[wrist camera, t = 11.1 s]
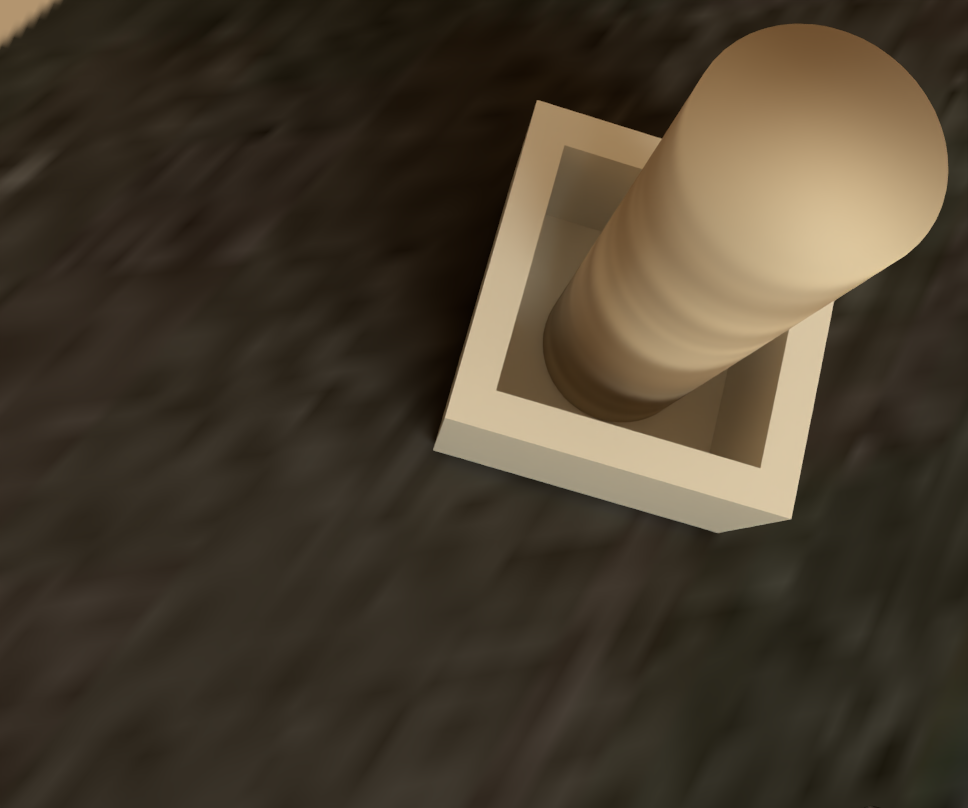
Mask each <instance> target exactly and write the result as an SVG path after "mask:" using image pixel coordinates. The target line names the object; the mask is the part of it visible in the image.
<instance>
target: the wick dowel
mask: <svg viewBox="0 0 968 808" xmlns="http://www.w3.org/2000/svg"><path fill="white" fill-rule="evenodd" d="M947 179H948V156H947V149H946V143H945V139H944V135H943V132H942V128H941V125H940V122H939V120H938V118H937V115H936V113H935V111H934V109H933V107H932V105H931V103H930V102H929V100H928V98H927V96H926V95H925V93H924V92H923V90H922V89H921V88H920V86H919V85H918V84H917V82H916V81H915V80H914V79H913V78H912V76H911V75H910V74H909V73H908V72H907V71H906V70H905V69H904V68H903V67H902V66H901V65H900V64H899V63H898V62H896V61H895V60H894V59H893V58H892V57H891V56H889V55H888V54H886V53H885V52H884V51H882V50H881V49H879V48H878V47H876V46H875V45H873V44H871V43H869V42H867V41H866V40H864V39H862V38H860V37H857V36H855V35H852V34H850V33H848V32H845V31H841V30H838V29H834V28H831V27H826V26H820V25H814V24H788V25H779V26H774V27H769V28H765V29H762V30H759V31H757V32H754V33H751V34H749V35H747V36H745V37H743V38H742V39H740V40H738V41H736V42H735V43H733V44H732V45H731V46H729V47H728V48H727V49H725V50H724V51H723V52H722V53H721V54H720V55H719V56H718V57H717V58H716V59H715V60H714V61H713V62H712V63H711V65H710V66H709V68H708V69H707V70H706V72H705V73H704V74H703V76H702V78H701V79H700V81H699V82H698V84H697V85H696V87H695V88H694V90H693V91H692V93H691V95H690V96H689V98H688V99H687V101H686V102H685V104H684V105H683V107H682V108H681V110H680V112H679V113H678V115H677V116H676V118H675V119H674V121H673V122H672V124H671V125H670V127H669V129H668V130H667V132H666V133H665V135H664V136H663V138H662V139H661V141H660V143H659V144H658V146H657V147H656V149H655V150H654V152H653V153H652V155H651V156H650V158H649V160H648V161H647V163H646V164H645V166H644V167H643V169H642V170H641V172H640V173H639V175H638V177H637V178H636V180H635V181H634V183H633V184H632V186H631V187H630V189H629V190H628V192H627V194H626V195H625V197H624V198H623V200H622V201H621V203H620V204H619V206H618V208H617V209H616V211H615V212H614V214H613V215H612V217H611V218H610V220H609V221H608V223H607V225H606V226H605V228H604V229H603V231H602V232H601V234H600V235H599V237H598V238H597V240H596V242H595V243H594V245H593V246H592V248H591V249H590V251H589V252H588V254H587V255H586V257H585V259H584V260H583V262H582V263H581V265H580V266H579V268H578V269H577V271H576V272H575V274H574V276H573V277H572V279H571V280H570V282H569V283H568V285H567V286H566V288H565V290H564V291H563V293H562V294H561V296H560V297H559V299H558V300H557V302H556V303H555V305H554V307H553V308H552V310H551V312H550V314H549V316H548V319H547V321H546V324H545V329H544V333H543V354H544V360H545V364H546V367H547V370H548V373H549V375H550V377H551V379H552V381H553V383H554V384H555V386H556V387H557V389H558V390H559V392H560V393H561V394H562V395H563V396H564V398H566V399H567V400H568V401H569V402H570V403H571V404H572V405H573V406H575V407H576V408H578V409H579V410H580V411H582V412H584V413H586V414H588V415H590V416H592V417H595V418H597V419H601V420H605V421H610V422H633V421H639V420H642V419H646V418H648V417H651V416H653V415H655V414H657V413H658V412H660V411H662V410H663V409H665V408H666V407H668V406H669V405H671V404H673V403H674V402H676V401H677V400H679V399H680V398H682V397H684V396H685V395H687V394H688V393H690V392H691V391H693V390H695V389H696V388H698V387H699V386H701V385H702V384H704V383H706V382H707V381H709V380H710V379H712V378H713V377H715V376H717V375H718V374H720V373H721V372H723V371H724V370H726V369H728V368H729V367H731V366H732V365H734V364H735V363H737V362H739V361H740V360H742V359H743V358H745V357H746V356H748V355H750V354H751V353H753V352H754V351H756V350H757V349H759V348H761V347H762V346H764V345H765V344H767V343H768V342H770V341H772V340H773V339H775V338H776V337H778V336H779V335H781V334H783V333H784V332H786V331H787V330H789V329H790V328H792V327H794V326H795V325H797V324H798V323H800V322H801V321H803V320H805V319H806V318H808V317H809V316H811V315H812V314H814V313H816V312H817V311H819V310H820V309H822V308H823V307H825V306H827V305H828V304H830V303H831V302H833V301H834V300H836V299H838V298H839V297H841V296H842V295H844V294H845V293H847V292H849V291H850V290H852V289H853V288H855V287H856V286H858V285H860V284H861V283H863V282H864V281H866V280H867V279H869V278H871V277H872V276H874V275H875V274H877V273H878V272H880V271H882V270H883V269H885V268H886V267H888V266H889V265H891V264H893V263H894V262H896V261H897V260H899V259H900V258H902V257H904V256H905V255H906V254H908V253H909V252H910V251H911V250H912V249H913V248H915V247H916V246H917V245H918V244H919V243H920V242H921V240H922V239H923V238H924V237H925V236H926V234H927V233H928V232H929V230H930V229H931V227H932V225H933V224H934V222H935V221H936V219H937V216H938V214H939V212H940V209H941V207H942V204H943V200H944V197H945V193H946V188H947Z"/></svg>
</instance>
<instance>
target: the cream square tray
mask: <svg viewBox="0 0 968 808" xmlns="http://www.w3.org/2000/svg"><path fill="white" fill-rule="evenodd" d="M660 141H661V138H658V137H654V136H651V135H648V134H645V133H642V132H638V131H635V130H632V129H629V128H626V127H622V126H619V125H616V124H613V123H610V122H606V121H603V120H600V119H597V118H594V117H590V116H587V115H584V114H581V113H577V112H574V111H571V110H568V109H565V108H561V107H558V106H555V105H552V104H549V103H545V102H542V101H539V100H537V102H536V105H535V108H534V112H533V115H532V118H531V121H530V124H529V127H528V130H527V134H526V137H525V140H524V143H523V146H522V149H521V152H520V156H519V159H518V162H517V165H516V168H515V171H514V175H513V178H512V181H511V184H510V187H509V191H508V194H507V198H506V201H505V205H504V208H503V211H502V215H501V218H500V222H499V225H498V229H497V232H496V236H495V239H494V242H493V246H492V249H491V253H490V256H489V260H488V263H487V266H486V270H485V273H484V277H483V280H482V284H481V287H480V290H479V294H478V297H477V301H476V304H475V308H474V311H473V315H472V318H471V321H470V325H469V328H468V332H467V335H466V339H465V342H464V345H463V349H462V352H461V356H460V359H459V363H458V366H457V369H456V373H455V376H454V380H453V383H452V387H451V390H450V394H449V397H448V400H447V404H446V407H445V411H444V414H443V418H442V421H441V424H440V428H439V431H438V435H437V438H436V442H435V445H434V448H433V450H434V451H438V452H441V453H445V454H448V455H451V456H455V457H458V458H462V459H465V460H469V461H472V462H476V463H479V464H482V465H486V466H489V467H493V468H496V469H500V470H503V471H507V472H510V473H513V474H517V475H520V476H524V477H527V478H531V479H534V480H538V481H541V482H544V483H548V484H551V485H555V486H558V487H562V488H565V489H569V490H572V491H575V492H579V493H582V494H586V495H589V496H593V497H596V498H600V499H603V500H606V501H610V502H613V503H617V504H620V505H624V506H627V507H631V508H634V509H637V510H641V511H644V512H648V513H651V514H655V515H658V516H662V517H665V518H668V519H672V520H675V521H679V522H682V523H686V524H689V525H692V526H696V527H699V528H703V529H706V530H710V531H713V532H717V533H720V532H725V531H731V530H736V529H741V528H747V527H752V526H757V525H762V524H768V523H773V522H778V521H784V520H789V519H791V518H792V513H793V507H794V502H795V497H796V492H797V487H798V482H799V477H800V472H801V467H802V462H803V456H804V451H805V446H806V441H807V436H808V431H809V426H810V421H811V416H812V411H813V406H814V400H815V395H816V390H817V385H818V380H819V375H820V370H821V365H822V360H823V355H824V349H825V344H826V339H827V334H828V329H829V324H830V319H831V314H832V309H833V304H834V301H833V302H831V303H830V304H828V305H827V306H825V307H823V308H822V309H820V310H819V311H817V312H816V313H814V314H812V315H811V316H809V317H808V318H806V319H805V320H803V321H801V322H800V323H798V324H797V325H795V326H794V327H792V328H790V329H789V330H787V331H786V332H784V333H783V334H781V335H779V336H778V337H776V338H775V339H773V340H772V341H770V342H768V343H767V344H765V345H764V346H762V347H761V348H759V349H757V350H756V351H754V352H753V353H751V354H750V355H748V356H746V357H745V358H743V359H742V360H740V361H739V362H737V363H735V364H734V365H732V366H731V367H729V368H728V369H726V370H724V371H723V372H721V373H720V374H718V375H717V376H715V377H713V378H712V379H710V380H709V381H707V382H706V383H704V384H702V385H701V386H699V387H698V388H696V389H695V390H693V391H691V392H690V393H688V394H687V395H685V396H684V397H682V398H680V399H679V400H677V401H676V402H674V403H673V404H671V405H669V406H668V407H666V408H665V409H663V410H662V411H660V412H658V413H657V414H655V415H653V416H651V417H648V418H646V419H642V420H639V421H633V422H610V421H605V420H601V419H597V418H595V417H592V416H590V415H588V414H586V413H584V412H582V411H580V410H579V409H578V408H576V407H575V406H573V405H572V404H571V403H570V402H569V401H568V400H567V399H566V398H564V396H563V395H562V394H561V393H560V392H559V390H558V389H557V387H556V386H555V384H554V383H553V381H552V379H551V377H550V375H549V373H548V370H547V367H546V364H545V360H544V354H543V333H544V329H545V324H546V321H547V319H548V316H549V314H550V312H551V310H552V308H553V307H554V305H555V303H556V302H557V300H558V299H559V297H560V296H561V294H562V293H563V291H564V290H565V288H566V286H567V285H568V283H569V282H570V280H571V279H572V277H573V276H574V274H575V272H576V271H577V269H578V268H579V266H580V265H581V263H582V262H583V260H584V259H585V257H586V255H587V254H588V252H589V251H590V249H591V248H592V246H593V245H594V243H595V242H596V240H597V238H598V237H599V235H600V234H601V232H602V231H603V229H604V228H605V226H606V225H607V223H608V221H609V220H610V218H611V217H612V215H613V214H614V212H615V211H616V209H617V208H618V206H619V204H620V203H621V201H622V200H623V198H624V197H625V195H626V194H627V192H628V190H629V189H630V187H631V186H632V184H633V183H634V181H635V180H636V178H637V177H638V175H639V173H640V172H641V170H642V169H643V167H644V166H645V164H646V163H647V161H648V160H649V158H650V156H651V155H652V153H653V152H654V150H655V149H656V147H657V146H658V144H659V143H660Z"/></svg>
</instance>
